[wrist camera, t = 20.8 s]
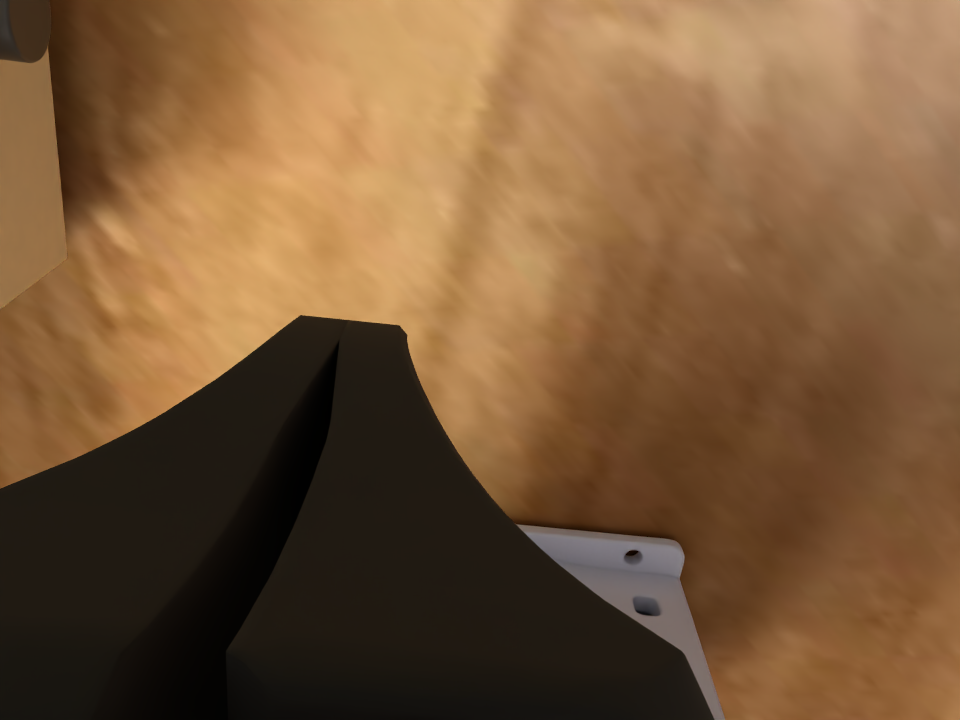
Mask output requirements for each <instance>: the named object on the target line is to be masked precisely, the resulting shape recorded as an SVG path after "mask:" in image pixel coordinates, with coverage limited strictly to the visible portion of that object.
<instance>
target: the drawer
mask: <svg viewBox="0 0 960 720" xmlns="http://www.w3.org/2000/svg"><path fill="white" fill-rule="evenodd" d="M50 35H51V8H50V2H49V0H0V309H2V308H3V307H4V306H6V305H7V304H8V303H9V302H11V301H12V300H13V299H15V298H16V297H17V296H19V295H20V294H21V293H23V292H24V291H25V290H27V289H28V288H29V287H31V286H32V285H33V284H35V283H36V282H37V281H39V280H40V279H41V278H43V277H44V276H45V275H47V274H48V273H49V272H51V271H52V270H53V269H54V268H56V267H57V266H58V265H60V264H61V263H62V262H64V261H65V260H66V259H67V258H68V255H67V245H66V234H65V224H64V213H63V202H62V192H61V181H60V170H59V160H58V149H57V139H56V128H55V117H54V107H53V96H52V85H51V75H50V64H49V54H48V44H49V40H50Z"/></svg>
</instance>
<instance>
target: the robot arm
mask: <svg viewBox="0 0 960 720" xmlns="http://www.w3.org/2000/svg"><path fill="white" fill-rule="evenodd" d="M630 550H637V551H639V552H638V553H637V554H635V555H633V556H628V555H625V554H626V553H627V552H628V551H630ZM684 557H685V556H684V553H683V550H682V548H681V546H680V544H679V543H677V542H676V541H674V540H671V539H663V538H653V537H642V536H632V535H622V534H611V533H601V532H591V531H580V530H570V529H560V528H549V527H539V526H529V525H518V524H515V523H514V522H513V521H512V520H511V519H510V518H509V517H508V516H507V515H506V514H505V513H504V512H503V510H502V509H501V508H500V507H499V506H498V505H497V504H496V502H495V501H494V500H493V499H492V498H491V497H490V495H489V494H488V493H487V492H486V490H485V489H484V488H483V486H482V485H481V484H480V483H479V481H478V480H477V479H476V478H475V476H474V475H473V474H472V472H471V471H470V469H469V468H468V467H467V465H466V464H465V462H464V461H463V459H462V458H461V456H460V455H459V453H458V452H457V450H456V449H455V447H454V445H453V444H452V442H451V441H450V439H449V437H448V436H447V434H446V432H445V431H444V429H443V427H442V425H441V424H440V422H439V420H438V418H437V416H436V415H435V413H434V411H433V409H432V406H431V404H430V402H429V400H428V398H427V396H426V394H425V392H424V390H423V388H422V386H421V383H420V381H419V379H418V376H417V374H416V371H415V368H414V365H413V362H412V359H411V356H410V353H409V349H408V343H407V334H406V333H405V332H404V331H403V329H402V328H401V327H400V326H399V325H390V324H380V323H371V322H361V321H351V320H342V319H332V318H322V317H312V316H303V315H300V316H299V317H298V318H296V319H295V320H293V321H292V322H291V323H289V324H288V325H287V326H286V327H284V328H283V329H282V330H280V331H279V332H278V333H276V334H275V335H274V336H273V337H271V338H270V339H269V340H268V341H266V342H265V343H264V344H262V345H261V346H260V347H259V348H257V349H256V350H255V351H253V352H252V353H251V354H250V355H248V356H247V357H246V358H244V359H243V360H242V361H240V362H239V363H238V364H236V365H235V366H234V367H232V368H231V369H229V370H228V371H227V372H225V373H224V374H223V375H221V376H220V377H219V378H217V379H216V380H214V381H213V382H211V383H210V384H208V385H206V386H205V387H203V388H202V389H200V390H199V391H197V392H196V393H194V394H193V395H191V396H189V397H188V398H186V399H185V400H183V401H182V402H180V403H179V404H177V405H175V406H174V407H172V408H171V409H169V410H168V411H166V412H165V413H163V414H161V415H159V416H158V417H156V418H154V419H152V420H151V421H149V422H147V423H145V424H143V425H142V426H140V427H138V428H136V429H134V430H132V431H131V432H129V433H127V434H125V435H123V436H121V437H119V438H117V439H115V440H113V441H111V442H109V443H107V444H105V445H103V446H101V447H99V448H96V449H94V450H92V451H90V452H88V453H86V454H84V455H82V456H79V457H77V458H75V459H73V460H70V461H68V462H65V463H63V464H60V465H58V466H55V467H53V468H50V469H48V470H45V471H43V472H40V473H38V474H35V475H33V476H30V477H28V478H25V479H23V480H21V481H18V482H16V483H13V484H11V485H8V486H6V487H3V488H1V489H0V720H725V717H724V714H723V711H722V708H721V705H720V702H719V699H718V696H717V693H716V690H715V686H714V683H713V680H712V677H711V674H710V671H709V668H708V665H707V662H706V659H705V656H704V652H703V649H702V646H701V643H700V640H699V637H698V634H697V631H696V628H695V625H694V622H693V619H692V615H691V612H690V609H689V606H688V603H687V600H686V597H685V594H684V591H683V588H682V585H681V581H680V579H679V578H680V575H681V571H682V568H683V564H684Z"/></svg>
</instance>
